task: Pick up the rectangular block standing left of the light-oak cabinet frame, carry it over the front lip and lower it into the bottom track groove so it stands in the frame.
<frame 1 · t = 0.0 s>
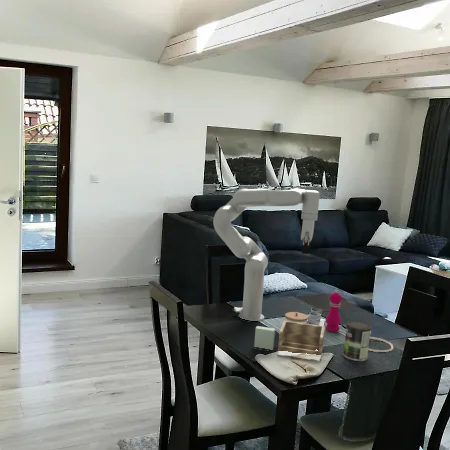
hand: (306, 251, 264), 37 cm above the table, tool pointing down, fingers open, 9 cm apart
pepper mill: (332, 330, 266), on the table
hand towel holder: (371, 345, 251), on the table
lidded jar: (295, 331, 260), on the table
cabinet frame: (300, 353, 234), on the table
coffee can: (355, 356, 235), on the table
rectangular block: (263, 348, 237), on the table
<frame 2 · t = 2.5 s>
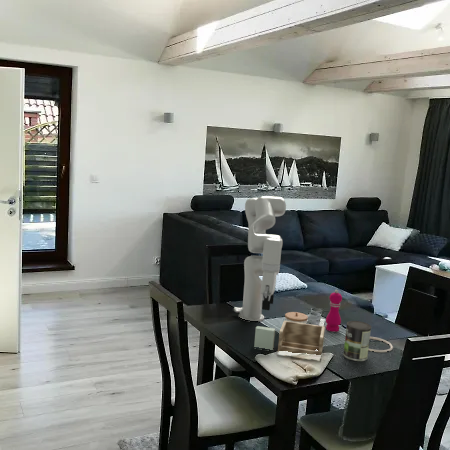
hand: (267, 306, 233), 19 cm above the table, tool pointing down, fingers open, 9 cm apart
nothing on the table moved.
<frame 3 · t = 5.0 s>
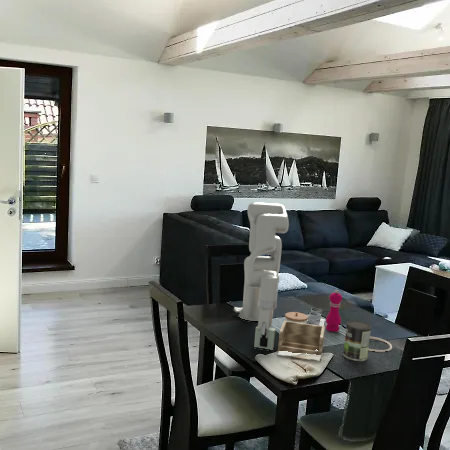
hand: (264, 344, 236), 2 cm above the table, tool pointing down, fingers closed on rectangular block, 3 cm apart
rectangular block: (263, 348, 237), on the table, touching gripper
everything else where it was.
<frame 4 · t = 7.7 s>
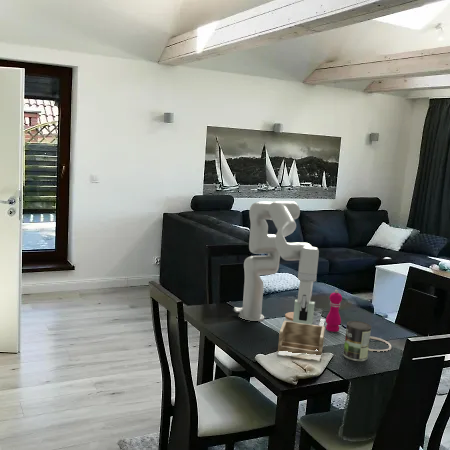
hand: (303, 318, 230), 16 cm above the table, tool pointing down, fingers closed on rectangular block, 3 cm apart
rectangular block: (302, 322, 230), point 14 cm above the table, touching gripper
everything else where it was.
when the fingers open (5 cm above the table, at t = 10.2 s): rectangular block drops 2 cm, resting on cabinet frame.
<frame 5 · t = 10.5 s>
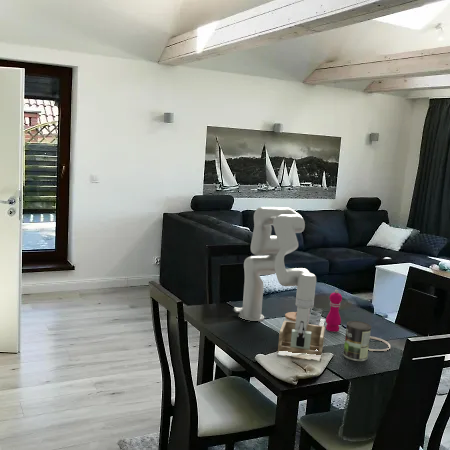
hand: (300, 343, 232), 5 cm above the table, tool pointing down, fingers open, 5 cm apart
rectangular block: (299, 351, 233), point 1 cm above the table, touching cabinet frame
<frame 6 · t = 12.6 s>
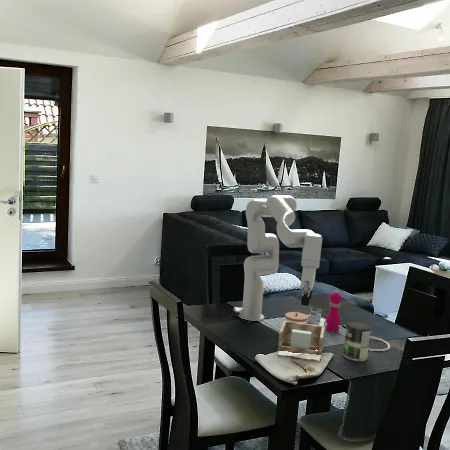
hand: (306, 301, 234), 22 cm above the table, tool pointing down, fingers open, 9 cm apart
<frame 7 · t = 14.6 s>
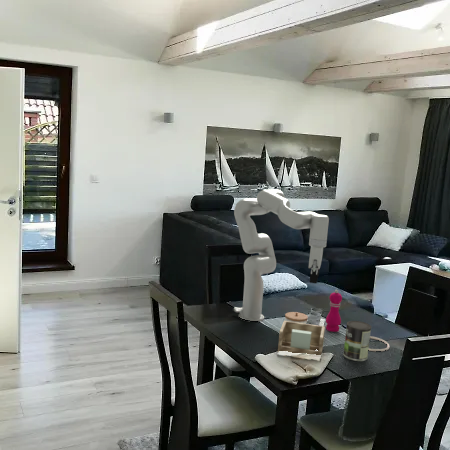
hand: (314, 280, 244), 28 cm above the table, tool pointing down, fingers open, 9 cm apart
at the end: rectangular block inside the target area on the cabinet frame (0.2 cm from its centre), point 1.0 cm above the cabinet frame's base; rectangular block tilted 0°; the gripper is holding nothing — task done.
